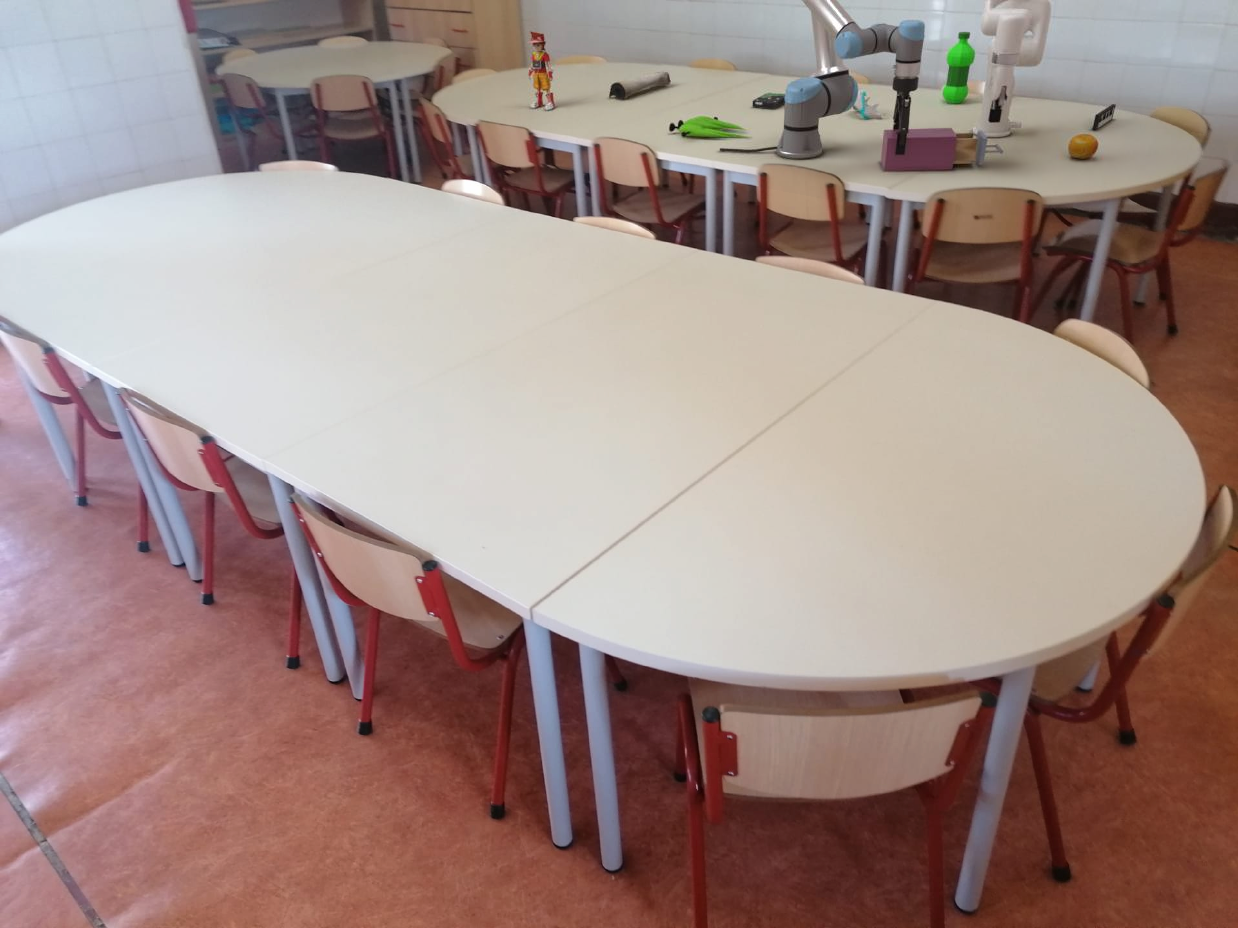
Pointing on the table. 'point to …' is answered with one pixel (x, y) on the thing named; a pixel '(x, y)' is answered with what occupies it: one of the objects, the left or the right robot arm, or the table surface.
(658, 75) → the rolled mat
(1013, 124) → the right robot arm
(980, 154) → the drawer
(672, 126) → the toy
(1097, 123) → the midi keyboard
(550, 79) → the toy
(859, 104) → the anatomical model
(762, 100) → the disk drive
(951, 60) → the plastic bottle
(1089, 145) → the fruit
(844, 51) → the left robot arm
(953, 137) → the cabinet
